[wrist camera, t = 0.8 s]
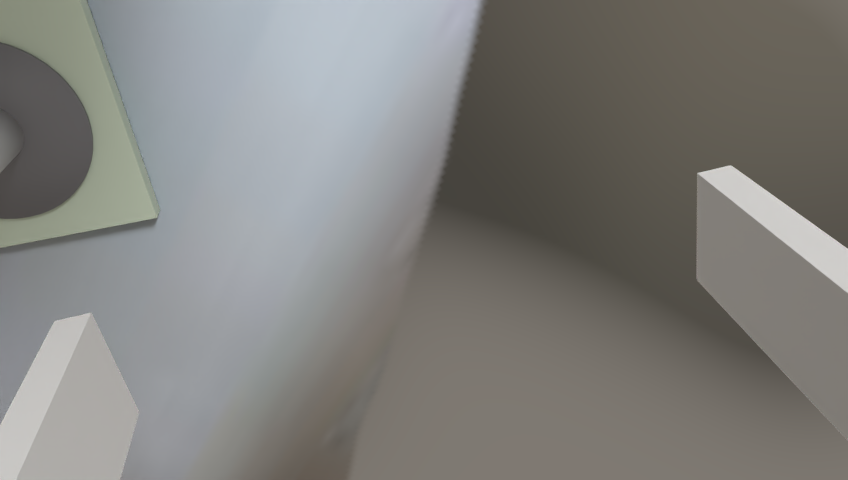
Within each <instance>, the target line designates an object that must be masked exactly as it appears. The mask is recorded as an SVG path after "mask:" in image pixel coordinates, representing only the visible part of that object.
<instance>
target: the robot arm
mask: <svg viewBox="0 0 848 480" xmlns="http://www.w3.org/2000/svg"><path fill="white" fill-rule="evenodd" d="M697 281H698V282H699V283H700V284H701V285H702V286H703V287H704V288H705V289H706V290H707V291H708V292H709V293H710V294H711V295H712V296H713V298H714V299H715V300H716V301H717V302H718V303H719V304H720V305H721V306H722V307H723V308H724V309H725V310H726V311H727V313H728V314H729V315H730V316H731V317H732V318H733V319H734V320H735V321H736V322H737V323H738V324H739V325H740V326H741V327H742V329H743V330H744V331H745V332H746V333H747V334H748V335H749V336H750V337H751V338H752V339H753V340H754V341H755V342H756V343H757V344H758V346H759V347H760V348H761V349H762V350H763V351H764V352H765V353H766V354H767V355H768V356H769V357H770V358H771V359H772V361H773V362H774V363H775V364H776V365H777V366H778V367H779V368H780V369H781V370H782V371H783V372H784V373H785V374H786V375H787V376H788V378H789V379H791V381H792V382H793V383H794V384H795V385H796V386H797V387H798V388H799V389H800V390H801V391H802V393H803V394H804V395H805V396H806V397H807V398H808V399H809V400H810V401H811V402H812V403H813V404H814V405H815V406H816V407H817V408H818V410H819V411H820V412H821V413H822V414H823V415H824V416H825V417H826V418H827V419H828V420H829V421H830V422H831V423H832V424H833V426H834V427H835V428H836V429H837V430H838V431H839V432H840V433H841V434H842V435H843V436H844V437H845V438H846V439H847V440H848V249H847V248H845V247H844V246H843V245H841V244H840V243H839V242H837V241H836V240H834V239H833V238H832V237H830V236H829V235H827V234H826V233H824V232H823V231H822V230H820V229H819V228H818V227H816V226H815V225H813V224H812V223H811V222H809V221H808V220H807V219H805V218H804V217H802V216H801V215H799V214H798V213H797V212H795V211H794V210H793V209H791V208H790V207H788V206H787V205H786V204H784V203H783V202H781V201H780V200H779V199H777V198H776V197H774V196H773V195H772V194H770V193H769V192H767V191H766V190H765V189H763V188H762V187H761V186H759V185H758V184H756V183H755V182H754V181H752V180H751V179H749V178H748V177H747V176H745V175H744V174H742V173H741V172H740V171H738V170H736V169H735V168H734V167H733V166H726V167H722V168H718V169H713V170H709V171H705V172H700V173H697ZM138 415H139V411H138V408H137V406H136V404H135V402H134V400H133V398H132V396H131V394H130V392H129V390H128V388H127V386H126V384H125V381H124V379H123V377H122V375H121V373H120V371H119V369H118V367H117V365H116V363H115V361H114V359H113V357H112V354H111V352H110V350H109V348H108V346H107V344H106V342H105V340H104V338H103V336H102V334H101V332H100V330H99V327H98V325H97V323H96V321H95V319H94V317H93V315H92V313H87V314H83V315H79V316H74V317H70V318H66V319H61V320H57V321H54V323H53V325H52V327H51V329H50V330H49V332H48V334H47V336H46V338H45V340H44V342H43V344H42V346H41V348H40V350H39V352H38V353H37V355H36V357H35V359H34V361H33V363H32V365H31V367H30V369H29V371H28V373H27V375H26V377H25V378H24V380H23V382H22V384H21V386H20V388H19V390H18V392H17V394H16V396H15V398H14V400H13V401H12V403H11V405H10V407H9V409H8V411H7V413H6V415H5V417H4V419H3V421H2V423H1V424H0V480H120V478H121V475H122V471H123V468H124V464H125V461H126V457H127V454H128V450H129V447H130V443H131V440H132V436H133V433H134V429H135V426H136V422H137V418H138Z"/></svg>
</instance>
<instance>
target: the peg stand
mask: <svg viewBox="0 0 848 480" xmlns="http://www.w3.org/2000/svg"><path fill="white" fill-rule="evenodd" d="M159 212H160V208H159V205H158V203H157V200H156V197H155V194H154V191H153V188H152V185H151V183H150V180H149V177H148V174H147V171H146V168H145V165H144V163H143V160H142V157H141V154H140V151H139V148H138V145H137V142H136V140H135V137H134V134H133V131H132V128H131V125H130V122H129V120H128V117H127V114H126V111H125V108H124V105H123V102H122V100H121V97H120V94H119V91H118V88H117V85H116V82H115V80H114V77H113V74H112V71H111V68H110V65H109V62H108V60H107V57H106V54H105V51H104V48H103V45H102V42H101V40H100V37H99V34H98V31H97V28H96V25H95V22H94V19H93V17H92V14H91V11H90V8H89V5H88V2H87V0H0V248H3V247H8V246H13V245H18V244H24V243H29V242H34V241H39V240H44V239H50V238H55V237H60V236H65V235H71V234H76V233H81V232H86V231H92V230H97V229H102V228H107V227H112V226H118V225H123V224H128V223H133V222H139V221H144V220H149V219H154V218H157V217H158V214H159Z"/></svg>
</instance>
